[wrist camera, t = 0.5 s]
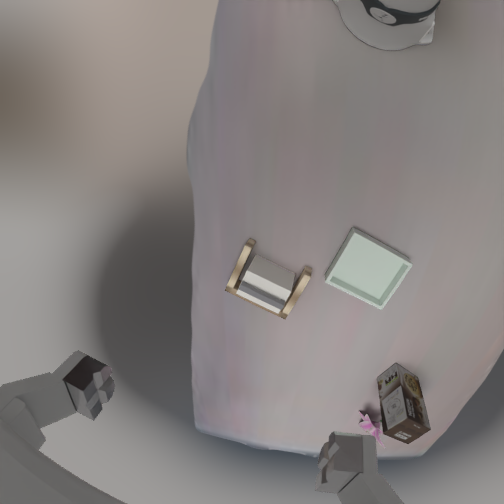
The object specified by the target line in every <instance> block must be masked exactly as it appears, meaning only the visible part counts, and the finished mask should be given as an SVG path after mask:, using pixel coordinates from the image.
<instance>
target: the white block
mask: <svg viewBox="0 0 504 504" xmlns="http://www.w3.org/2000/svg"><path fill="white" fill-rule="evenodd" d="M294 277H295V273H294V272H292V271H289V270H287V269H285V268H283V267H281V266H279V265H277V264H275V263H273V262H271V261H269V260H267V259H265V258H263V257H261V256H259V255H257V254H256V255H255V257H254V258H253V260H252V262H251V264H250V266H249V268H248V270H247V272H246V274H245V276H244V278H243V280H242V282H241V284H240V286H239V288H238V290H237V293H236V294H238V295H240V296H242V297H244V298H246V299H248V300H250V301H252V302H254V303H257V304H259V305H261V306H263V307H265V308H267V309H269V310H271V311H273V312H275V313H277V314H279V312H280V310H282V309H283V307H284V305H285V302H286V300H287V298H288V297H289V295H290V293H291V291H292V287H293V282H294Z"/></svg>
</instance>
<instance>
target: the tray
mask: <svg viewBox="0 0 504 504" xmlns="http://www.w3.org/2000/svg"><path fill="white" fill-rule="evenodd" d="M412 265H413V264H412V263H411V261H410V260H409V258H408V257H406V256H404V255H403V254H401V253H399V252H397V251H396V250H394V249H392V248H390V247H388V246H387V245H385V244H383V243H381V242H380V241H378V240H376V239H374V238H372V237H371V236H369V235H367V234H365V233H363V232H361V231H360V230H358V229H356V228H354V227H352V229H351V231H350V233H349V234H348V236H347V238H346V240H345V241H344V243H343V245H342V247H341V248H340V250H339V252H338V253H337V255H336V257H335V259H334V260H333V262H332V264H331V265H330V267H329V269H328V270H327V272H326V274H325V282H326V283H328V284H330V285H332V286H334V287H336V288H338V289H340V290H342V291H344V292H346V293H348V294H350V295H352V296H354V297H356V298H358V299H360V300H362V301H364V302H366V303H368V304H370V305H372V306H374V307H376V308H378V309H380V310H382V309H383V307H384V306H385V305H386V303H387V302H388V301H389V299H390V298H391V296H392V295H393V293H394V292H395V291H396V289H397V288H398V286H399V285H400V283H401V282H402V280H403V279H404V277H405V276H406V274H407V273H408V271H409V270H410V268H411V267H412Z"/></svg>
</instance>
